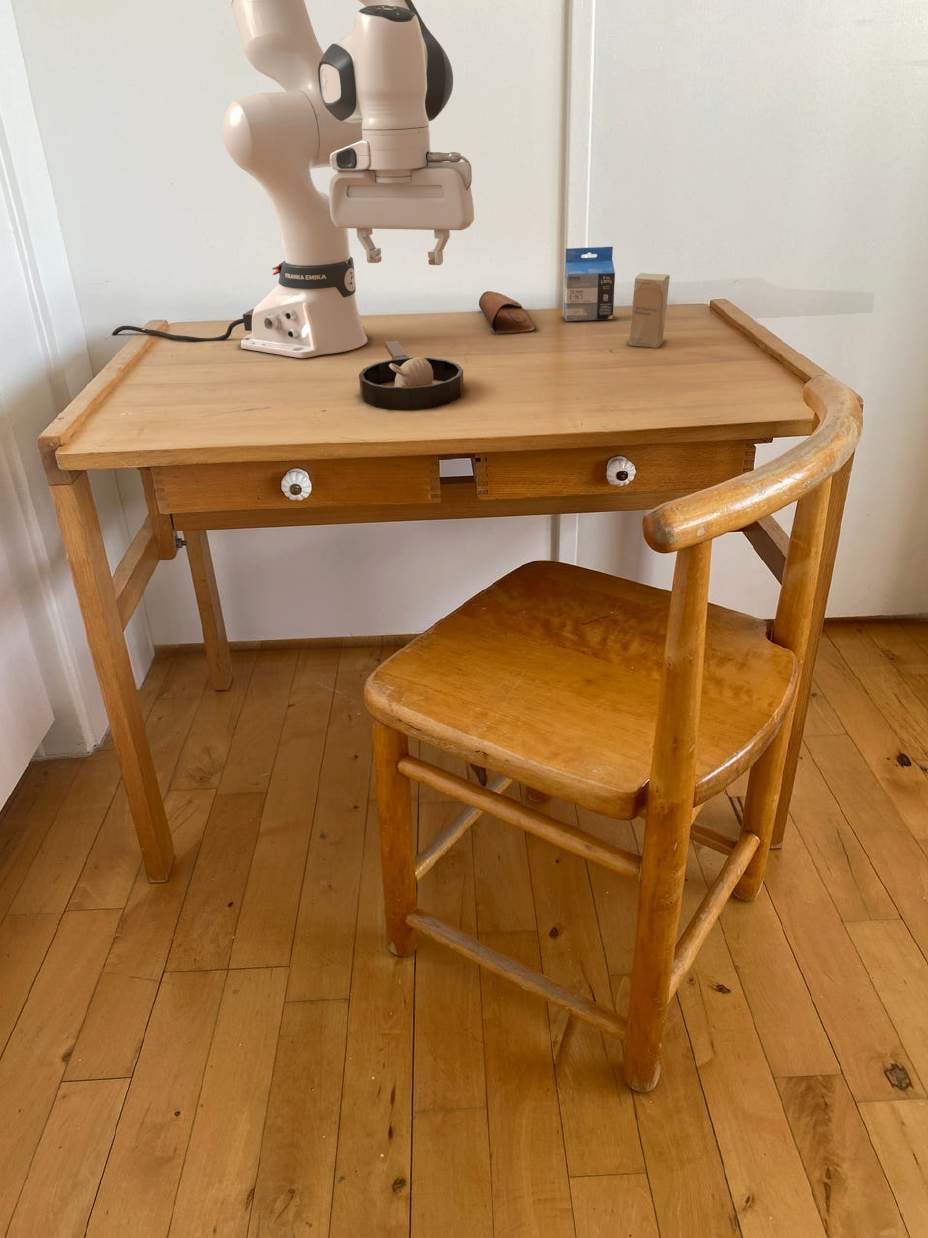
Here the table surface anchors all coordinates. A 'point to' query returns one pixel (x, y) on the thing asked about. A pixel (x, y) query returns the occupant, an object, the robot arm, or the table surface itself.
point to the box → (649, 310)
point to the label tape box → (589, 284)
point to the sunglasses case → (504, 314)
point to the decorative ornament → (413, 373)
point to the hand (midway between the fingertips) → (404, 263)
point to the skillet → (410, 395)
